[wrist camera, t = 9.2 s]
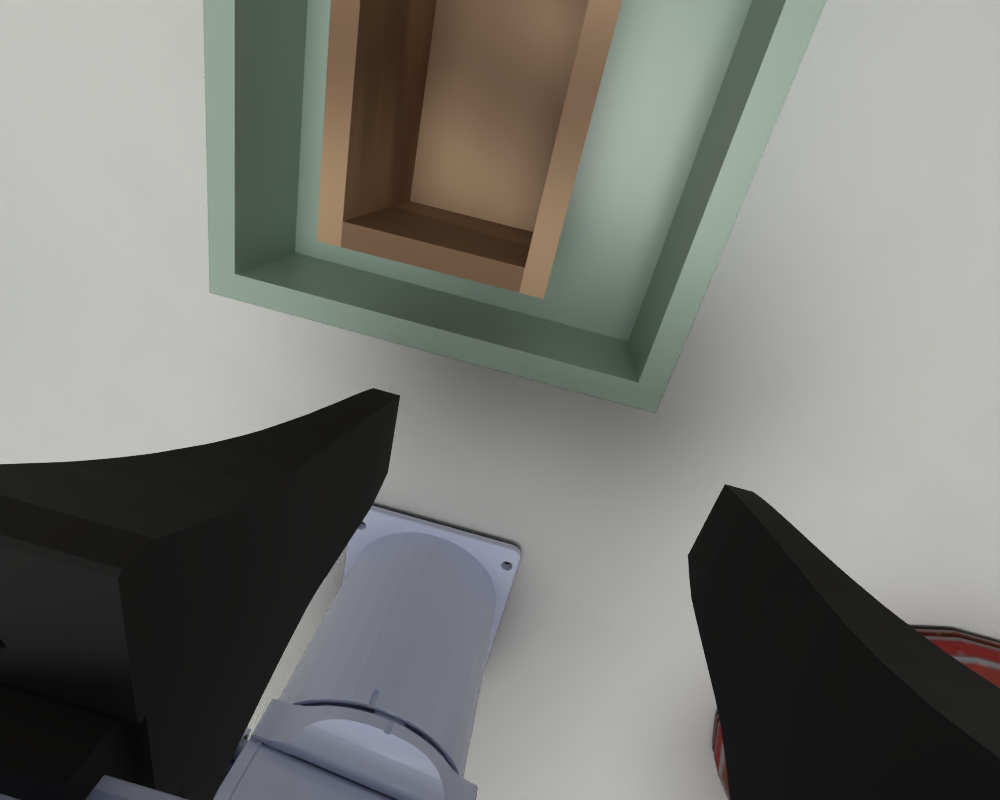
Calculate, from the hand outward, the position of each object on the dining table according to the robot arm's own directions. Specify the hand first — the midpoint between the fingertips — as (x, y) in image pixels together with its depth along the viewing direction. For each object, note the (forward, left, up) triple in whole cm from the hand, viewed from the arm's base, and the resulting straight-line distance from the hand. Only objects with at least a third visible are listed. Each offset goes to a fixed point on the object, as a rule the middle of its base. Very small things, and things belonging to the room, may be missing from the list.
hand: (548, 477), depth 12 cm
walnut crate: (+7, +4, -9) cm, 12 cm away
